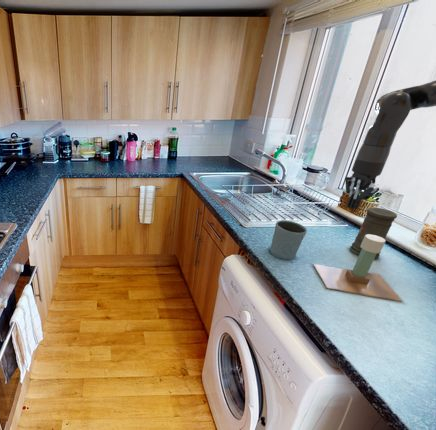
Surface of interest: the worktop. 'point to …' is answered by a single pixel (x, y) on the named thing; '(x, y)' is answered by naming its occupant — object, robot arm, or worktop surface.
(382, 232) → the container
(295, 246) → the grey cup
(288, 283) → the worktop surface
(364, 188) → the robot arm
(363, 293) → the brown flat board
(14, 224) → the worktop surface
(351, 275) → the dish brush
